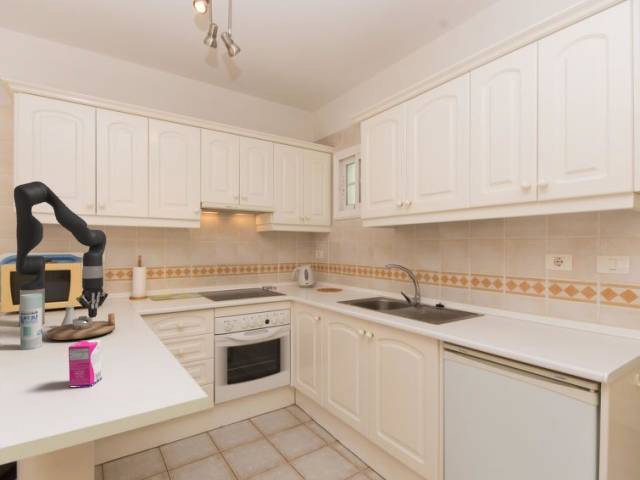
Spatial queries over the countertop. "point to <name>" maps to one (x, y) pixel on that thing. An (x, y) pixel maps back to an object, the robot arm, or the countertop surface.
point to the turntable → (96, 329)
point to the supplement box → (85, 363)
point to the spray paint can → (30, 321)
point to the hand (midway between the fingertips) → (92, 317)
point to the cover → (82, 323)
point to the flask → (69, 316)
